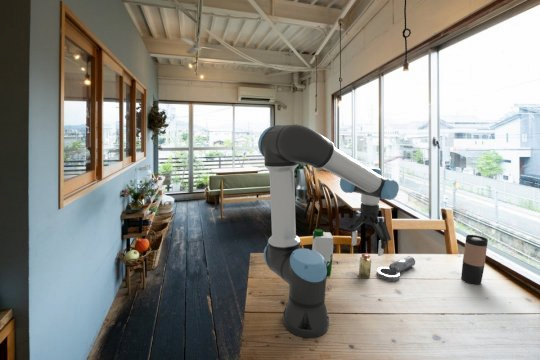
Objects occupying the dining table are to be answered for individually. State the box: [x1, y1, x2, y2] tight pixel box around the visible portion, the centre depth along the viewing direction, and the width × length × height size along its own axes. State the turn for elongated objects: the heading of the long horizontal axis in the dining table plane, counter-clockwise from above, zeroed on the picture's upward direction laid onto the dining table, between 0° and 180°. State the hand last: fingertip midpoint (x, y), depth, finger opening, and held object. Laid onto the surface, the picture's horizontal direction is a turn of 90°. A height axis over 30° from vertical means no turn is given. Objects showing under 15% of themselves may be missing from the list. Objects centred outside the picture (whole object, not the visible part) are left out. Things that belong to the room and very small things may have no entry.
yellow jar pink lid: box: [358, 253, 372, 279], centre depth 123 cm, size 5×5×10 cm
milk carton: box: [311, 228, 334, 277], centre depth 125 cm, size 9×9×20 cm
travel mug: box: [460, 234, 489, 286], centre depth 120 cm, size 8×8×20 cm
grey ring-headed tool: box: [376, 255, 416, 282], centre depth 128 cm, size 24×9×5 cm, turn 125°
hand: (366, 249), depth 122 cm, fingers open, 13 cm apart
